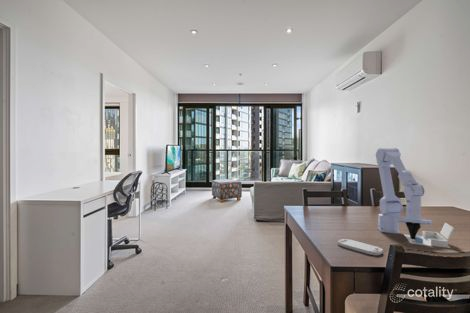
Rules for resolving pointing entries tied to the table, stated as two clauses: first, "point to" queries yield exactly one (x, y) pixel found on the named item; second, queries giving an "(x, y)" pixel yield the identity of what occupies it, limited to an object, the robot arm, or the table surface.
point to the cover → (446, 231)
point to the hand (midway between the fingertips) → (412, 238)
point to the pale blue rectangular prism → (418, 239)
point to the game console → (360, 247)
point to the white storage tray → (430, 239)
